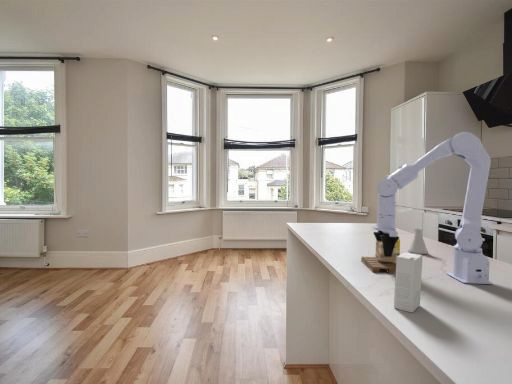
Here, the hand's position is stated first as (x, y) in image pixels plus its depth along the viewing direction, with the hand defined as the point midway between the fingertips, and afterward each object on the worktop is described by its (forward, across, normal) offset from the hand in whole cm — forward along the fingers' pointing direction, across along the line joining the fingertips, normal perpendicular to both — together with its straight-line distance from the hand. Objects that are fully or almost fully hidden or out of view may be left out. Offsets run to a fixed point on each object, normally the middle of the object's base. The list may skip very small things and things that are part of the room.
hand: (385, 254), depth 105 cm
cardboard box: (+2, 0, 0) cm, 2 cm away
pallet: (+4, 0, 0) cm, 4 cm away
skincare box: (+5, +35, -7) cm, 36 cm away
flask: (+5, -25, +22) cm, 34 cm away
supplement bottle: (+5, -18, +9) cm, 21 cm away
